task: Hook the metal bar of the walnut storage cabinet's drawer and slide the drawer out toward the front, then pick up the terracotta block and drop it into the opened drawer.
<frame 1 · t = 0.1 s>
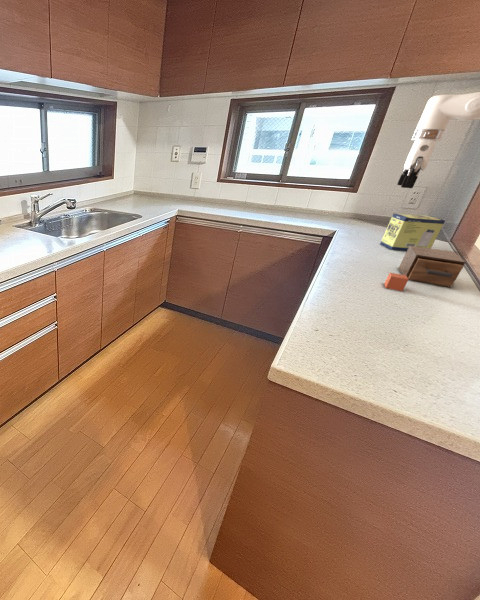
hand: (404, 186, 122), 31 cm above the worktop, tool pointing down, fingers open, 9 cm apart
cabinet: (422, 277, 124), on the worktop
block: (393, 287, 114), on the worktop
protein box: (403, 248, 159), on the worktop
drawer: (432, 269, 118), point 5 cm above the worktop, slide at 1.0 cm
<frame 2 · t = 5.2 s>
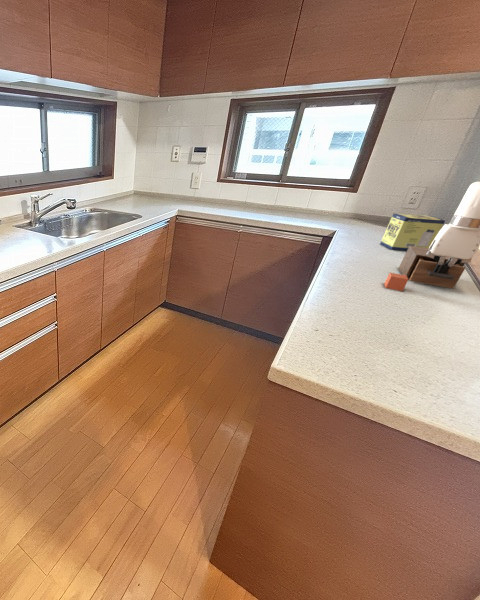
hand: (437, 275, 112), 5 cm above the worktop, tool pointing down, fingers closed
drawer: (433, 271, 117), point 5 cm above the worktop, slide at 3.2 cm, touching gripper
everything else where it was.
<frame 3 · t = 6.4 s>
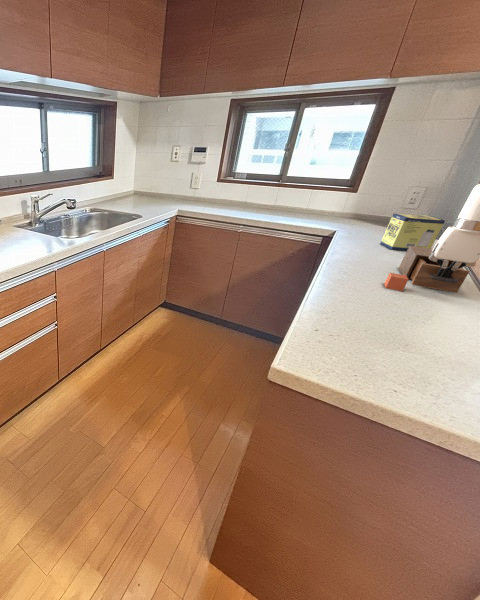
hand: (440, 279, 109), 5 cm above the worktop, tool pointing down, fingers closed
drawer: (436, 274, 113), point 5 cm above the worktop, slide at 7.5 cm, touching gripper
everything else where it was.
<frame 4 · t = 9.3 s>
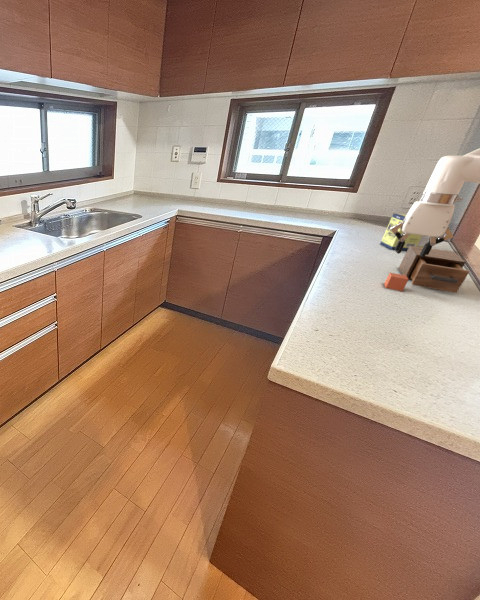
hand: (409, 253, 109), 12 cm above the worktop, tool pointing down, fingers open, 5 cm apart
drawer: (436, 274, 114), point 5 cm above the worktop, slide at 7.4 cm
everything else where it was.
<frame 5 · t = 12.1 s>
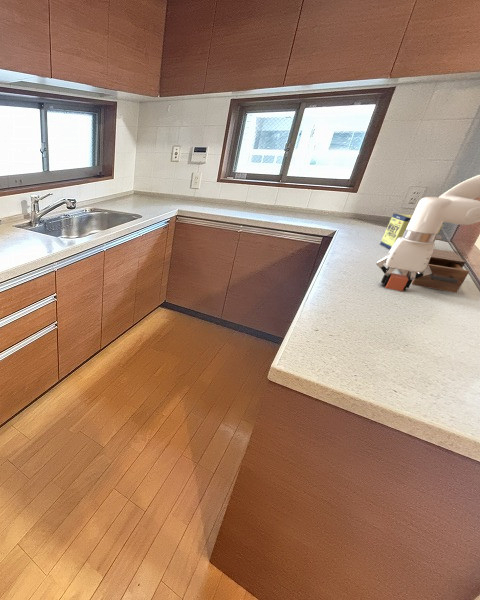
hand: (393, 286, 114), 0 cm above the worktop, tool pointing down, fingers closed on block, 4 cm apart
block: (393, 287, 114), on the worktop, touching gripper
everything else where it was.
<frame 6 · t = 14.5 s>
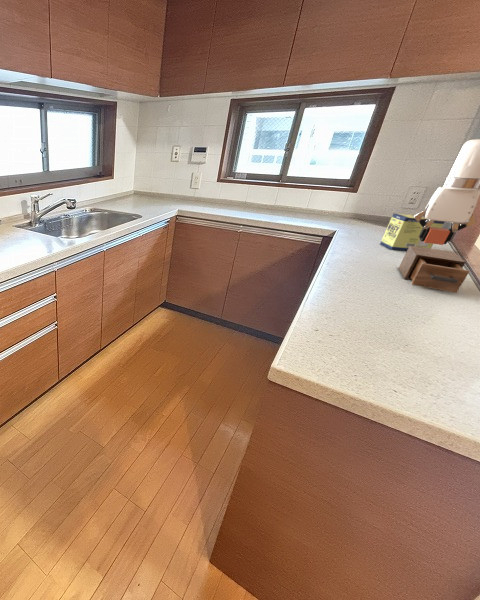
hand: (432, 241, 107), 17 cm above the worktop, tool pointing down, fingers closed on block, 4 cm apart
block: (432, 242, 108), point 16 cm above the worktop, touching gripper
everything else where it was.
when the fingers open (13 cm above the worktop, at t = 17.0 s): block drops 11 cm, resting on drawer.
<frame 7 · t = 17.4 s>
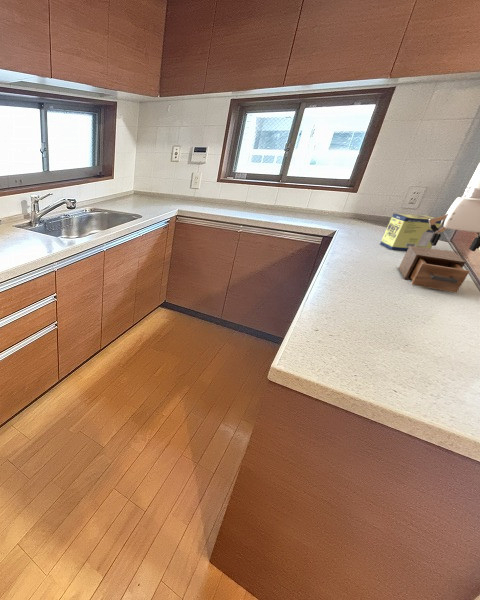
hand: (451, 247, 109), 15 cm above the worktop, tool pointing down, fingers open, 9 cm apart
block: (432, 281, 115), point 2 cm above the worktop, touching drawer
drawer: (436, 274, 114), point 5 cm above the worktop, slide at 7.4 cm, touching block
everything else where it was.
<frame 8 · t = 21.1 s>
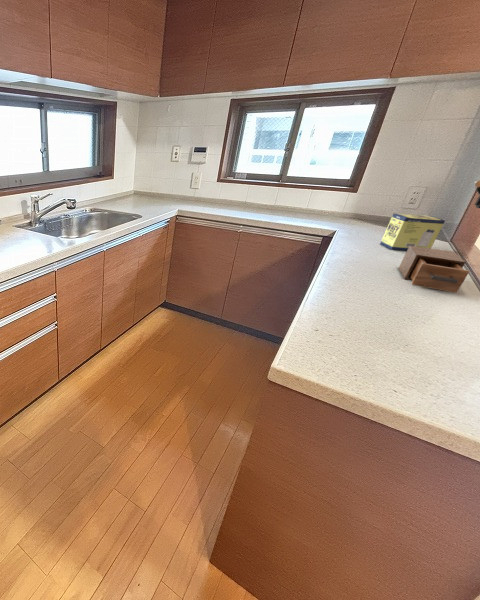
nothing on the worktop moved.
at the end: drawer slide at 7.4 cm; block inside the target area in the drawer (0.5 cm from its centre), point 2.0 cm above the cabinet's base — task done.
